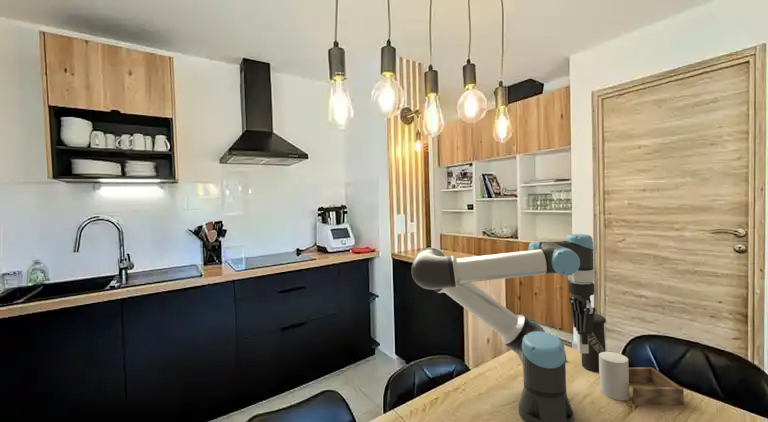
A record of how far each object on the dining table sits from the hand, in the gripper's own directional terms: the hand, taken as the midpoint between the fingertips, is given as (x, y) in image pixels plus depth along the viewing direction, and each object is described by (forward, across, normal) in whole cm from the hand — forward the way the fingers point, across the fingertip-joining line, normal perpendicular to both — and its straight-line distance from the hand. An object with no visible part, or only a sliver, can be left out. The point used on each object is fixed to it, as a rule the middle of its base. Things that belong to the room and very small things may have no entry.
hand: (583, 352), depth 117 cm
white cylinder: (+14, 0, -9) cm, 17 cm away
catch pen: (+14, 0, -19) cm, 23 cm away
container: (+14, +18, -12) cm, 26 cm away
